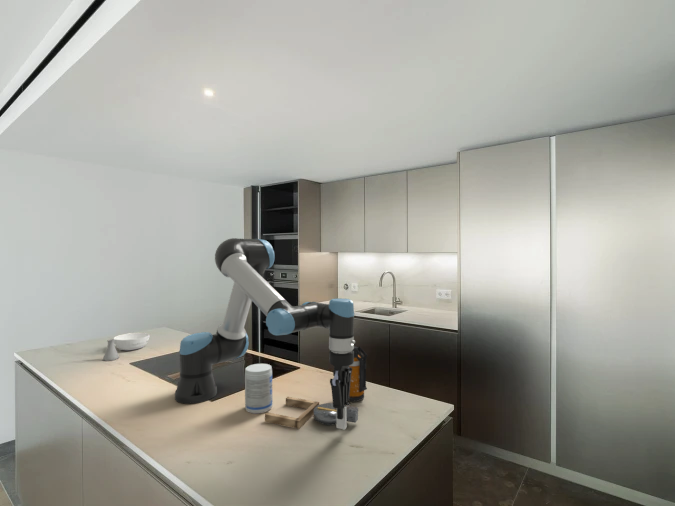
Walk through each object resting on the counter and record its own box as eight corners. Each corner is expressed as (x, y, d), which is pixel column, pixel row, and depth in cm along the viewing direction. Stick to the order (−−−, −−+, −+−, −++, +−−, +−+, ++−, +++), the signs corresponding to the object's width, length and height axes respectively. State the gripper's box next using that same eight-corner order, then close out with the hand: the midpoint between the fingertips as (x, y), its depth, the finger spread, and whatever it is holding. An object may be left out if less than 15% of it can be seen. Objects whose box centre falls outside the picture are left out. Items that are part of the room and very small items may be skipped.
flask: (113, 361, 179) (113, 341, 179) (99, 361, 179) (99, 341, 179) (122, 357, 186) (122, 338, 186) (108, 357, 186) (108, 338, 186)
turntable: (307, 420, 113) (307, 408, 113) (321, 406, 123) (321, 395, 123) (351, 429, 108) (351, 416, 108) (362, 413, 118) (362, 401, 118)
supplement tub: (276, 410, 123) (276, 368, 123) (250, 417, 118) (250, 373, 118) (266, 400, 131) (266, 361, 131) (241, 406, 126) (241, 366, 126)
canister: (351, 391, 140) (351, 341, 140) (373, 399, 132) (373, 346, 132) (335, 397, 134) (335, 345, 134) (357, 407, 126) (357, 351, 126)
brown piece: (264, 421, 115) (264, 414, 115) (287, 403, 129) (287, 396, 129) (299, 429, 110) (299, 421, 110) (319, 409, 124) (319, 402, 124)
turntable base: (316, 422, 114) (316, 419, 114) (324, 413, 121) (324, 410, 121) (336, 426, 112) (336, 423, 112) (343, 417, 118) (343, 414, 118)
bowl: (105, 352, 195) (105, 339, 195) (129, 343, 213) (129, 332, 213) (134, 354, 192) (134, 340, 192) (156, 345, 210) (156, 333, 210)
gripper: (345, 357, 99) (345, 440, 99) (360, 346, 111) (359, 420, 111) (321, 354, 102) (321, 435, 102) (338, 343, 114) (338, 416, 114)
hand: (341, 427), depth 106 cm, fingers closed
